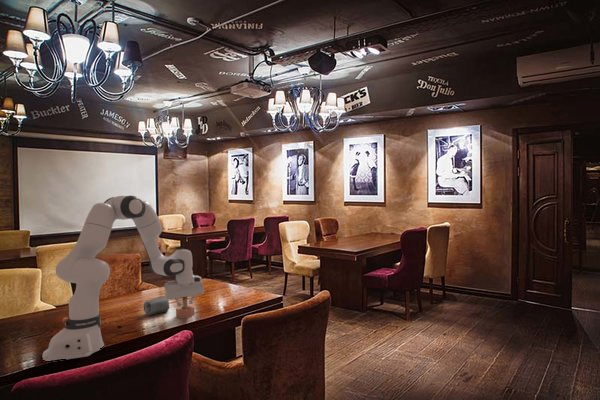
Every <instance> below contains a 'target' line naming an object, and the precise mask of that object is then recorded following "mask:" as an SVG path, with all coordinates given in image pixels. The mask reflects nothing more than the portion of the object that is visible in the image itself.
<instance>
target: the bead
mask: <svg viewBox="0 0 600 400" xmlns="http://www.w3.org/2000/svg"><path fill="white" fill-rule="evenodd" d="M187 308H188V309H183V305H181V306H177V307H176V308H175V316H176V318H177V319H188V318H192V317H193V316H194V315H195V314H196V313H195V311H196V310H195V306H193V305H191V304H189V305H188V304H187Z"/></svg>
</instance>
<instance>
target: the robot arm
mask: <svg viewBox="0 0 600 400" xmlns="http://www.w3.org/2000/svg"><path fill="white" fill-rule="evenodd" d="M116 220H122V221H124V220H132V221H133V223H134V225H135V227H136V229H137V231H138V233H139V236H140V238H141V242H142V245H143V247H144V248H145V249H144V250H145V251H146V255H147V256H148V262H149V263H148V264H149V269H150V271H151V272H152V274H154V275H158V276H159V275H161V276H165V277H174V276H175V280H168V281H166V282H165V283H164V285H163V287H164V288H163V289H164V298H166V299H167V300H168V301H169V300H175V301H176V303H177V304H176V305H177V307H180V306H182V302H181V301H179V300H180V299H181V298H182V297H187V298H188V297H191V298H190V300H188V304H189V305H192V304H194V303H193V301H194V300H195V296H200V295H203V294H204V293H205V287H204V283H203V278H202V277H201V276H199V275H197V274H194V273H193V272H194V271H193V254H192V252H191V250H190V249H185V248H178V249H176V250H175V252H173V253H172V254H170V255H169V256H166V255H164V254H163V253H162V252H161V250H160V248H159V245H158V241H157V238H158V237H159V236H160V235H161V234H162V233H163V232H162V231H163V226H162V223H161V221H160V218H159V217H158V215H157V213H156V211H155V209H154V208H153V207H152V205H151V204H150V202H148V201H146V200H142V199H141V198H139V197H137V196H135V195H118V196H113V197H109V198H108V199H106V200H105V201H104V202H98V203H95V204H93V206H92V207H91V209H90V210H89V212H88V214H87V216H86V218H85V221H84V223H83V226H82V229H81V232H80V234H79V236H78V239H77V241H76V243H75V244H74V246H73V247H72V249H71V250H70V252H69V253H68V254H67V255H66V256H65V257H63V258H62V259H60V260H59V261H58V263H57V264H56V266H55V274H56V276H57V277H58V279H60V280H62V281H64V282H66V283H69V284H70V283H71V284H76V286H75V291H74V292H73V293H74V294H73V295H72V296H70V298H69V299H68V314H69V315H68V316H69V317H67V316H66V317H63V319H62V323H63V328H62V329H61V330H60V331H58V333H56V334H55V335H54V336H53V337H52V338H51V339H50V340H49V341H50V342H49V344H48V348H47V349H45V350H44V351H43V353H42V355H41V356H42V358H43V359H42V360H45V361H51V360H57V359H66V360H71V359H72V360H73V359H79V358H86V357H90V356H91V355H92V354H94V353H96V352H98V351H100V350H101V349H100V348H102V347H103V346H104V347H105V343H104V340H103V337H102V332H101V325H102V323H101V322H102V321H101V320H102V319H101V314H100V310H99V309H100V305H99V301H100V299H99V298H100V293H101V289H102V286H103V285H104V283H105V282H107V280H108V279H109V277H110V274H111V268H110V265H109V264H108V262H106V261H104V260H102V259H99V258H95V257H96V256H97V255H98V254H99V253H100V252H101V251H103V250H104V249H105V248H106V246H107V244H108V241H109V238H110V235H111V232H112V229H113V226H114V223H115V222H116ZM179 298H180V299H179ZM104 347H103V348H104ZM103 348H102V349H103ZM45 361H44V362H45Z"/></svg>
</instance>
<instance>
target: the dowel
mask: <svg viewBox="0 0 600 400" xmlns="http://www.w3.org/2000/svg"><path fill="white" fill-rule="evenodd" d="M181 298H182V306H183V309H188V308H187V305H188V297H181Z"/></svg>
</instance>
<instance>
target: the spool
mask: <svg viewBox="0 0 600 400" xmlns="http://www.w3.org/2000/svg"><path fill="white" fill-rule="evenodd" d="M169 310H170V302H169V300H167V299H166V298H165V296H163V297H156V298H151V299H149V300H146V301H145V302H144V304H143V311H144V314H146V316H152V315H156V314H161V313H165V312H168V311H169Z"/></svg>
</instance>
